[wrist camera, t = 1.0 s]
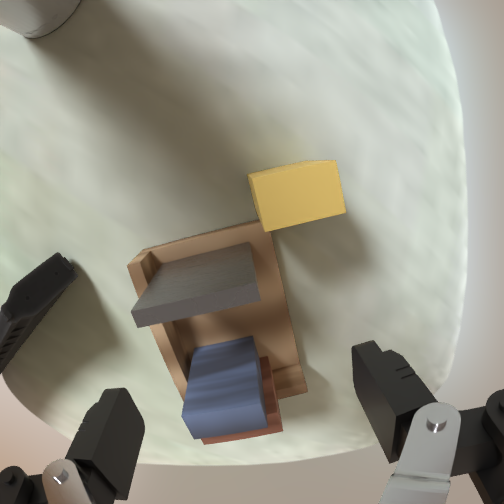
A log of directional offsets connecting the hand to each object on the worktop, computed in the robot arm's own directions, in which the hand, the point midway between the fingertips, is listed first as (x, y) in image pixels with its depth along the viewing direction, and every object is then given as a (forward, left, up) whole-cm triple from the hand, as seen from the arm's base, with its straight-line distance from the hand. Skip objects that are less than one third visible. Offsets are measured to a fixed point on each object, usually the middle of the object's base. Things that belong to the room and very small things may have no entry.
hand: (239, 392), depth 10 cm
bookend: (0, -3, -19) cm, 19 cm away
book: (-4, +5, -21) cm, 22 cm away
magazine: (+4, -30, -21) cm, 37 cm away
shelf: (+7, -3, -21) cm, 22 cm away
